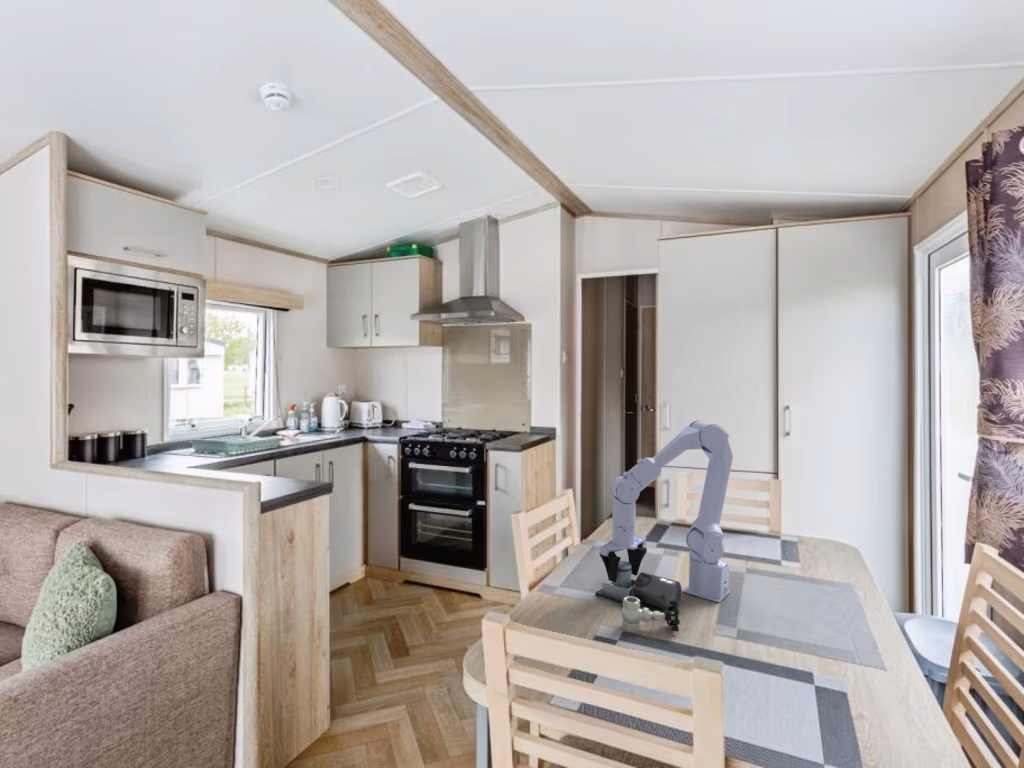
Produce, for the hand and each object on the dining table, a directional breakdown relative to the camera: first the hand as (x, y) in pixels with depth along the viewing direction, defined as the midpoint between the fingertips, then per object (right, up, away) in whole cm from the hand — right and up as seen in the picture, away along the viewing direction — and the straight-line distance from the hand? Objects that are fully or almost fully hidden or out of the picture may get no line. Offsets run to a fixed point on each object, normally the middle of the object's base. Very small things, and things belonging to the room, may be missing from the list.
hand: (623, 577), depth 140 cm
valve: (+2, -6, -17) cm, 18 cm away
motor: (+3, -5, -3) cm, 6 cm away
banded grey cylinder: (0, -4, 0) cm, 4 cm away
